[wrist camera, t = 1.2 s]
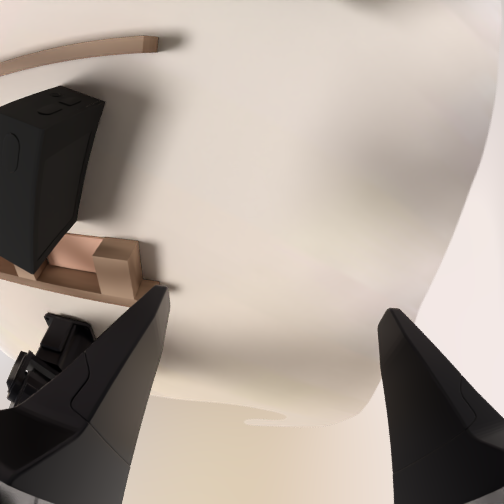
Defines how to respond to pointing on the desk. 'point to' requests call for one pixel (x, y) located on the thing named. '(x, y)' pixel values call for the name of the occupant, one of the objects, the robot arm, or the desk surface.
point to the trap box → (79, 246)
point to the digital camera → (43, 170)
